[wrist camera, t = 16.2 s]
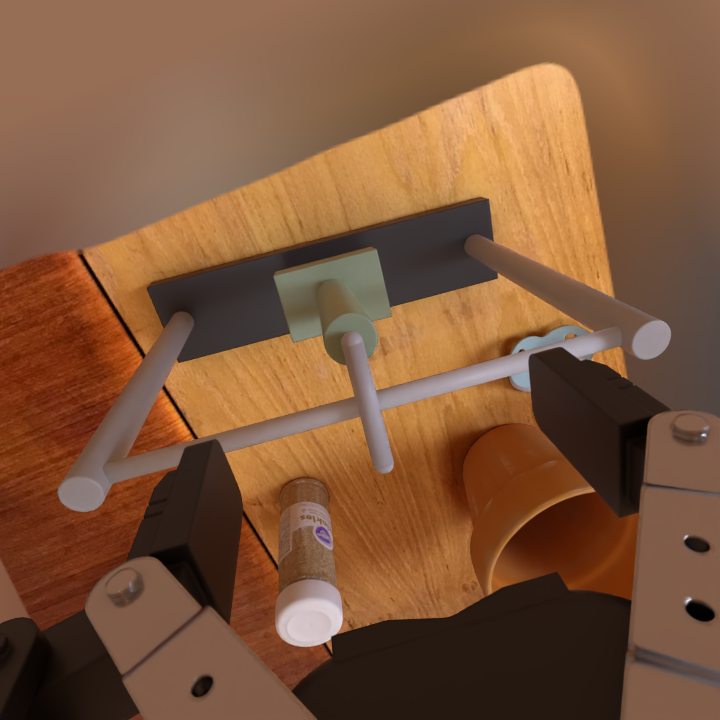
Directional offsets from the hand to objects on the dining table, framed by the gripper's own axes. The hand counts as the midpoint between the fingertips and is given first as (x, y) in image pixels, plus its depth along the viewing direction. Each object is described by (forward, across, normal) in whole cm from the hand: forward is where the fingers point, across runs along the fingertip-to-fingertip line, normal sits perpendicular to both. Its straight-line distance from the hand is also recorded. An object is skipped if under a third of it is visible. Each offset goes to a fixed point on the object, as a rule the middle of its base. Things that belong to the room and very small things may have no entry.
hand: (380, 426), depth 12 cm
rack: (+26, 0, +3) cm, 26 cm away
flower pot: (+26, -12, +24) cm, 38 cm away
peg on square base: (+20, 0, +4) cm, 20 cm away
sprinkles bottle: (+26, +7, +22) cm, 35 cm away
